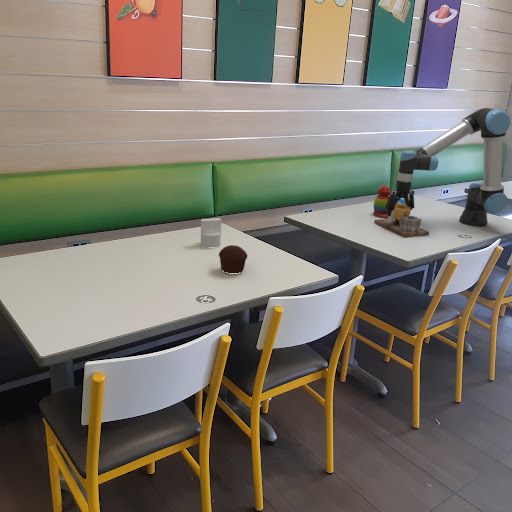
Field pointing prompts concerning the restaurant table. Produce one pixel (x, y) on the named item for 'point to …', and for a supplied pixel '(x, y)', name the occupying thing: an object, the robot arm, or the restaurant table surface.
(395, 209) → the ochre gear
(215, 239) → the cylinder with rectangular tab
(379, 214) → the stacking bear
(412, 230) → the gear board
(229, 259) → the muffin
